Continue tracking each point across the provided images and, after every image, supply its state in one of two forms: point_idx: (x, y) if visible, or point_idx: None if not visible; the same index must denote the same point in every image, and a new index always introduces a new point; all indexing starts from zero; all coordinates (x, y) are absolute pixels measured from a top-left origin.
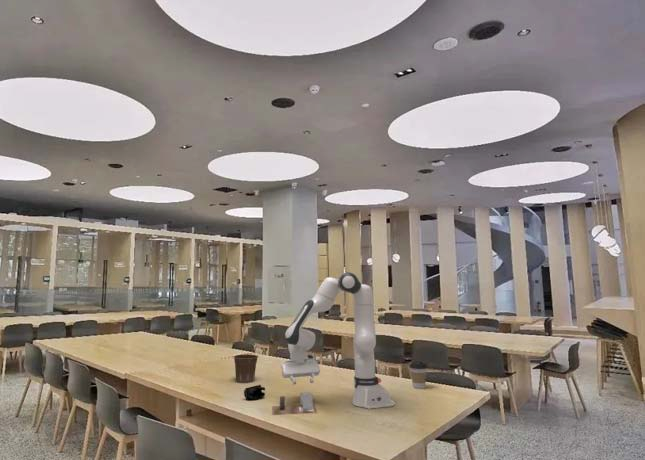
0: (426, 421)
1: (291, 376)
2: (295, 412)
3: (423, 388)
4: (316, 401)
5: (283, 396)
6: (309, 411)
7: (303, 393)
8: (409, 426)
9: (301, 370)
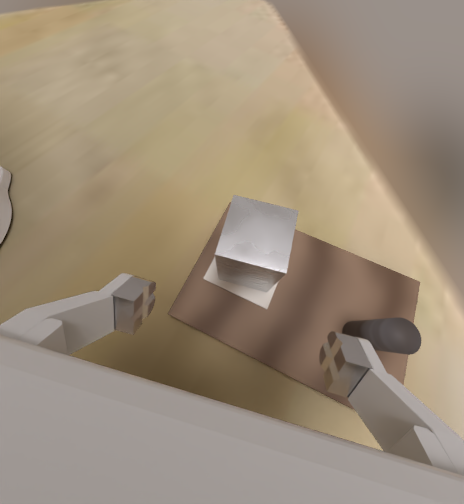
0: (8, 35)
1: (446, 439)
2: (311, 254)
3: None
4: None
5: (393, 342)
6: None
7: (277, 240)
8: (75, 35)
9: (223, 501)
